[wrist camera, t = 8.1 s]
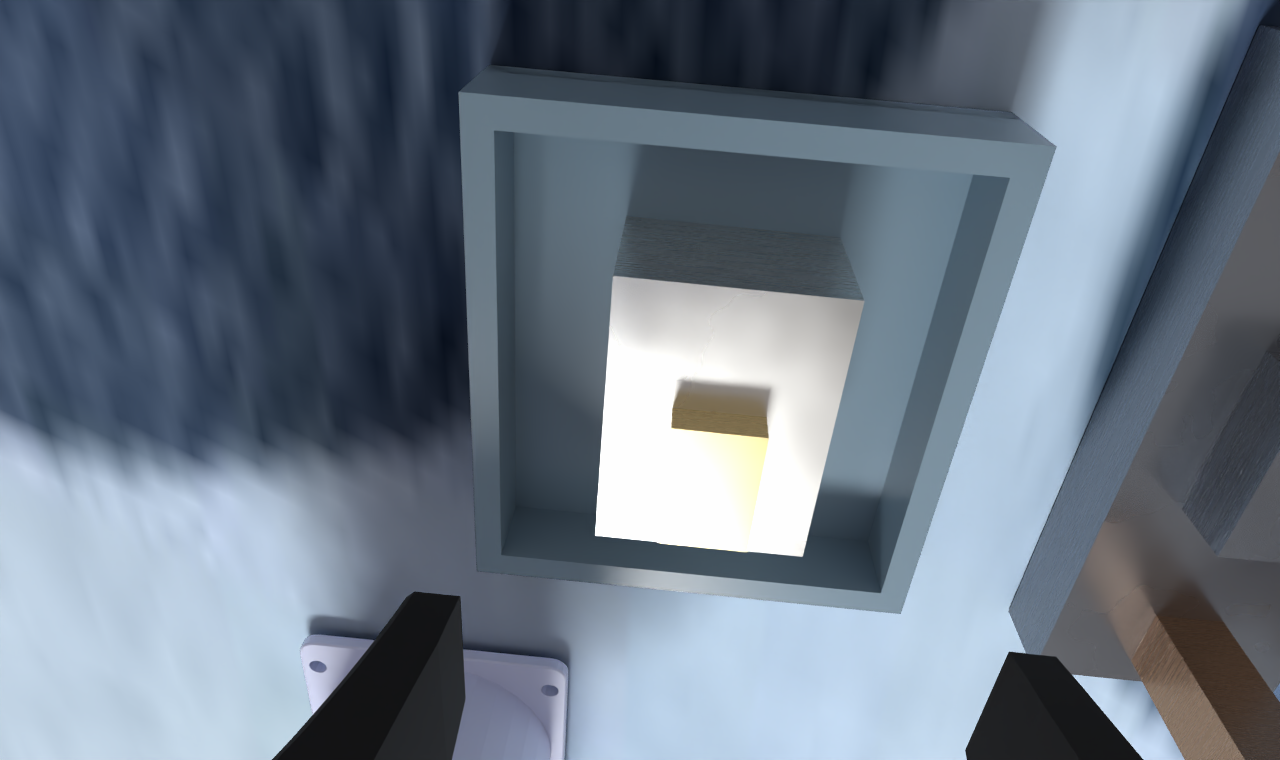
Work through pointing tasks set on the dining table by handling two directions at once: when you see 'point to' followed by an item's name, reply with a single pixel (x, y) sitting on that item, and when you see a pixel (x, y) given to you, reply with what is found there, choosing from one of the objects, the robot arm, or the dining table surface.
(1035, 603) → the hand plane
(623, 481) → the white yellow block
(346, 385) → the dining table surface
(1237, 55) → the dining table surface
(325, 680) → the robot arm
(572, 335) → the tray
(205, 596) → the dining table surface
